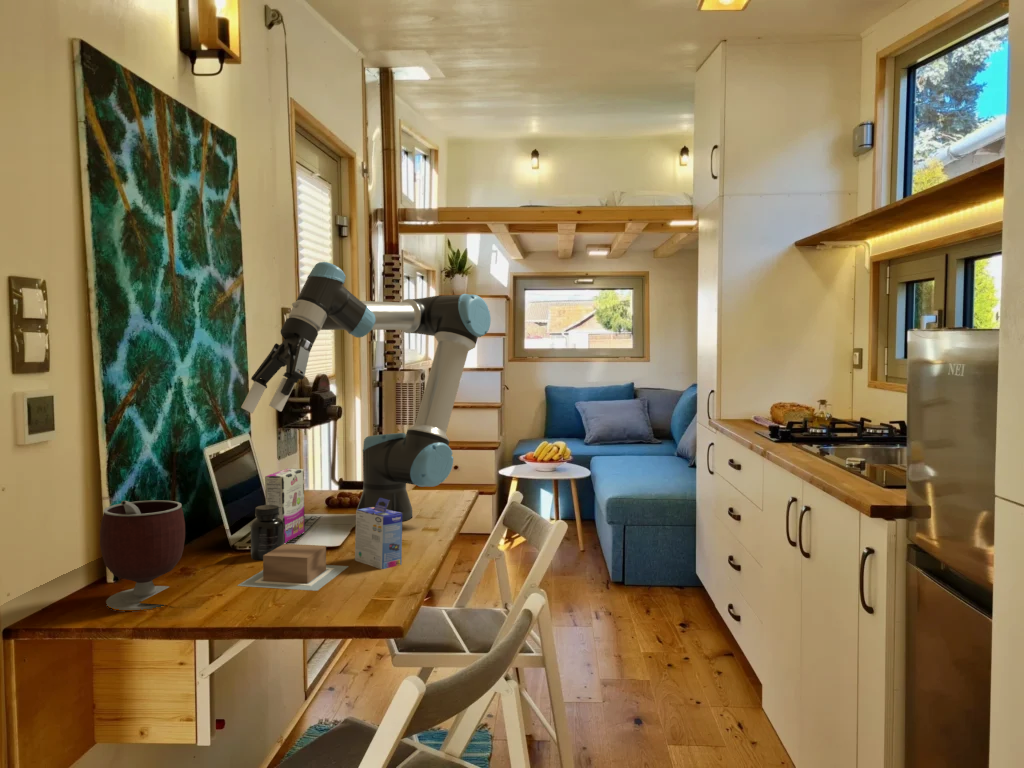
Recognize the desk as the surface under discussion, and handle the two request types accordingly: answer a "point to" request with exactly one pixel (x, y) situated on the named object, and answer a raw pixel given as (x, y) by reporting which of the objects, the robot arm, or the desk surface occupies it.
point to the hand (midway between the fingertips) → (260, 409)
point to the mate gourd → (141, 547)
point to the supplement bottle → (266, 531)
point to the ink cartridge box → (378, 536)
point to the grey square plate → (312, 585)
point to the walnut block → (294, 563)
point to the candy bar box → (288, 499)
